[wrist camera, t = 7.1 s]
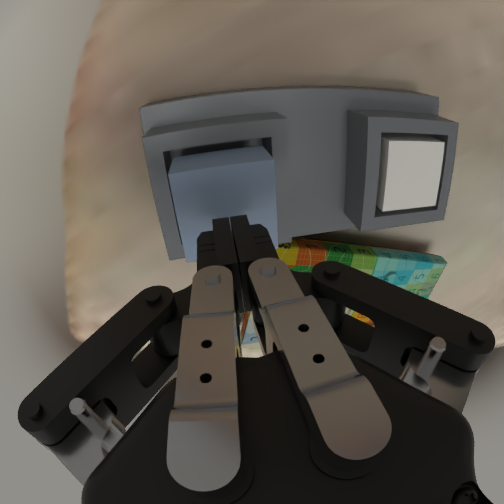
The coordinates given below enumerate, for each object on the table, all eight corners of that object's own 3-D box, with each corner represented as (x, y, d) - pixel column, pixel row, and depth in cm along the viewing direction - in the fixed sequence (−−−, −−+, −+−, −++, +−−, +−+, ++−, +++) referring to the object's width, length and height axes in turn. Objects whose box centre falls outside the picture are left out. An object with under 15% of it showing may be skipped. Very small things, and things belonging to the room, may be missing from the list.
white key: (420, 132, 20) (444, 142, 17) (414, 190, 23) (435, 205, 20) (366, 130, 19) (389, 140, 17) (363, 194, 22) (382, 211, 20)
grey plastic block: (417, 92, 21) (464, 104, 16) (407, 204, 27) (443, 235, 22) (147, 103, 19) (128, 114, 14) (172, 235, 25) (167, 279, 20)
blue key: (262, 145, 17) (274, 159, 14) (267, 223, 19) (278, 248, 17) (173, 157, 16) (167, 174, 14) (187, 235, 19) (186, 262, 16)
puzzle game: (403, 346, 33) (241, 355, 28) (387, 320, 37) (235, 321, 32) (452, 267, 27) (269, 250, 22) (428, 243, 31) (258, 221, 26)
